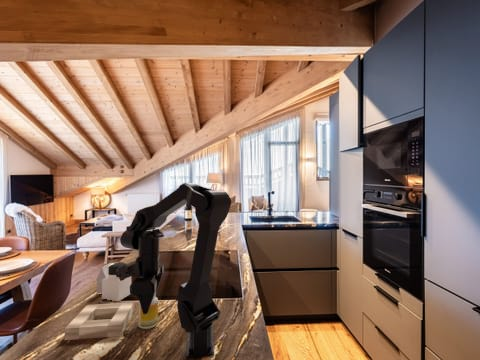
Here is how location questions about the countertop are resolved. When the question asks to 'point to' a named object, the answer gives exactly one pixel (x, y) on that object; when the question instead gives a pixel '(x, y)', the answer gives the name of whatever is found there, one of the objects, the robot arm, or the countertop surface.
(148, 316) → the supplement bottle
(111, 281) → the medicine bottle
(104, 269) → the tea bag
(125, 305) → the socket block
